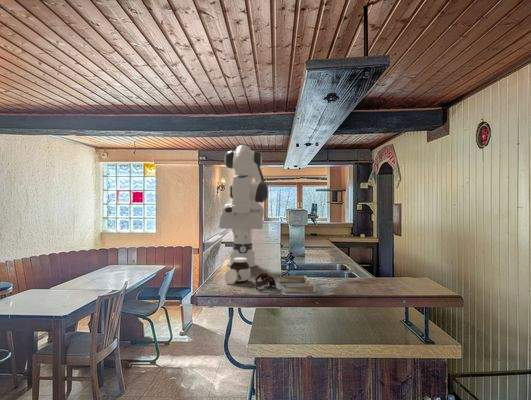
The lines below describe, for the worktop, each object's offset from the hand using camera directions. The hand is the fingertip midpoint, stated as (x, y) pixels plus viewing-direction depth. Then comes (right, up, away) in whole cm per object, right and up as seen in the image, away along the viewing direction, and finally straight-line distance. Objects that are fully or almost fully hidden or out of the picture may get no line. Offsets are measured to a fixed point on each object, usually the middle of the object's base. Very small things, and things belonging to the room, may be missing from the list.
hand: (240, 238), depth 163 cm
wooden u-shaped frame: (+26, -23, +4) cm, 35 cm away
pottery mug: (+11, -24, +1) cm, 26 cm away
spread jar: (-2, -23, +11) cm, 26 cm away
